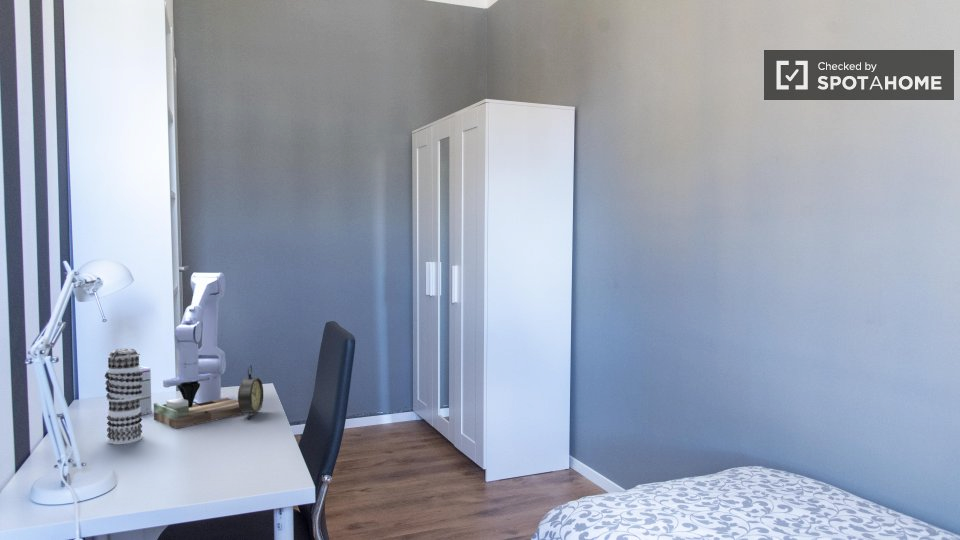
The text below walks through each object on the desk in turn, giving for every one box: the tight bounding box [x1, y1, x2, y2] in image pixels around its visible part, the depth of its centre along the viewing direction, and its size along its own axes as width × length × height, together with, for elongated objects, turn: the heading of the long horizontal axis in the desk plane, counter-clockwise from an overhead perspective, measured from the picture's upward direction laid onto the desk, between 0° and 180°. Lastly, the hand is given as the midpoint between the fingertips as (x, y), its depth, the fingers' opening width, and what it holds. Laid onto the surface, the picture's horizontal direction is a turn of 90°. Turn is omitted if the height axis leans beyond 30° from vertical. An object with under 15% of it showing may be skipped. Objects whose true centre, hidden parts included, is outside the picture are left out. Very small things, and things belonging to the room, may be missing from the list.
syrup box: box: [139, 365, 153, 415], centre depth 209 cm, size 6×6×14 cm
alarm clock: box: [237, 364, 264, 420], centre depth 207 cm, size 11×5×16 cm, turn 179°
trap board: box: [153, 397, 245, 430], centre depth 207 cm, size 14×24×5 cm, turn 140°
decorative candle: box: [104, 348, 143, 445], centre depth 182 cm, size 9×9×25 cm
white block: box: [165, 397, 188, 409], centre depth 200 cm, size 4×4×4 cm
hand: (188, 406), depth 203 cm, fingers closed
